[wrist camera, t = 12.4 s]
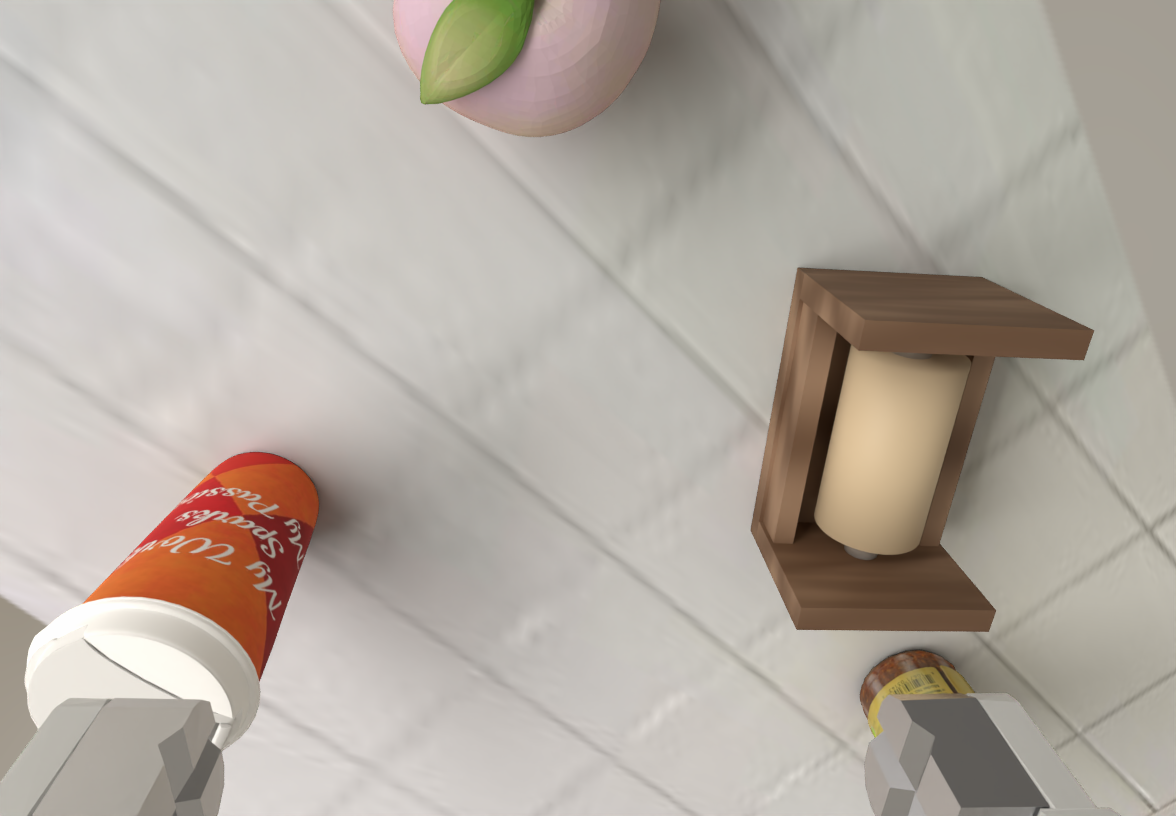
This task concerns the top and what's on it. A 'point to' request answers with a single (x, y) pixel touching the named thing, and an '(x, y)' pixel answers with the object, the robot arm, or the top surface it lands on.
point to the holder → (805, 422)
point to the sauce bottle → (908, 681)
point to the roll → (888, 447)
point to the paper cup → (189, 601)
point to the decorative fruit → (524, 57)
